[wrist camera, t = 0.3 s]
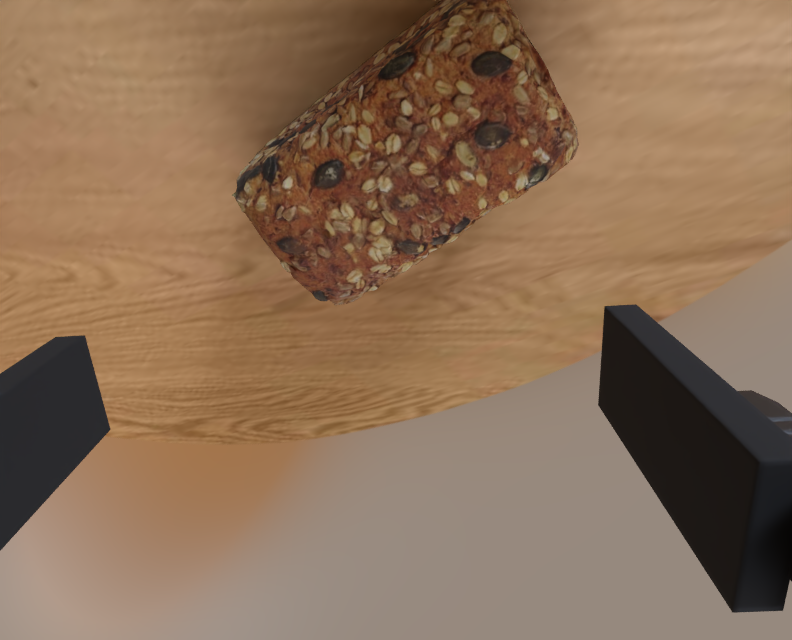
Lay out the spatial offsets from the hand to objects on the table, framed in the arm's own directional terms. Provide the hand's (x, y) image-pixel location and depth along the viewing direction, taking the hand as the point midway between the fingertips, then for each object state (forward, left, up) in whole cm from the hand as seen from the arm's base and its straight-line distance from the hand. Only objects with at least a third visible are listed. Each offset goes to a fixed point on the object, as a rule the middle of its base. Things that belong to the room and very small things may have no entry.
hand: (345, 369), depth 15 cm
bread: (+2, +4, -28) cm, 28 cm away
